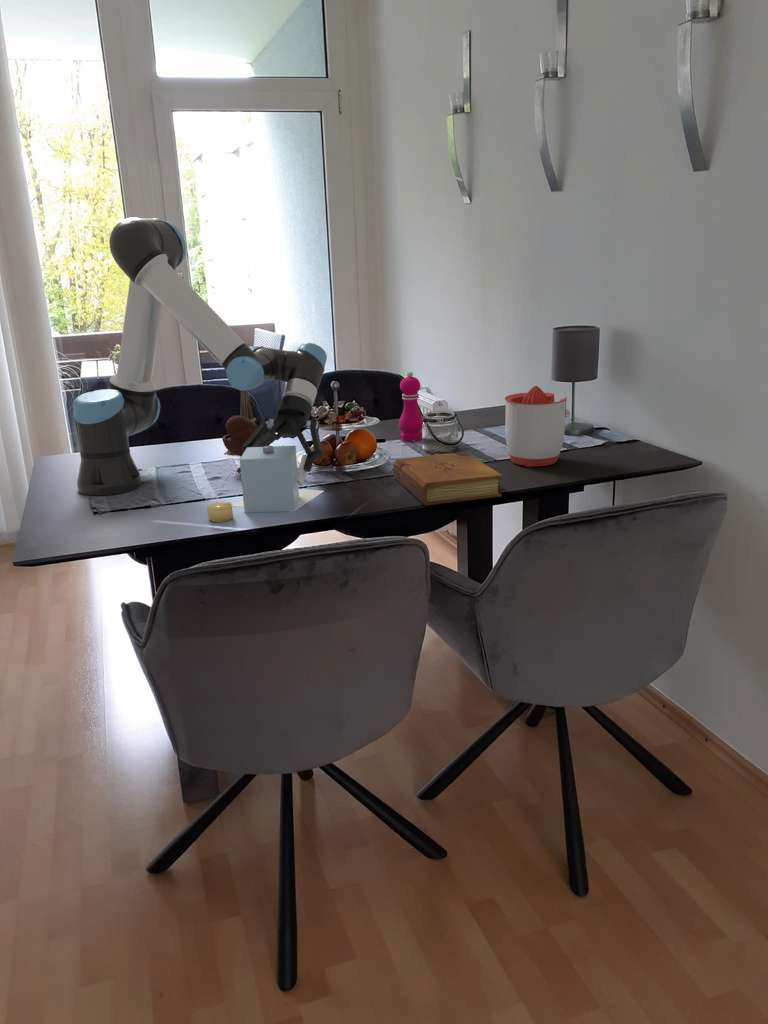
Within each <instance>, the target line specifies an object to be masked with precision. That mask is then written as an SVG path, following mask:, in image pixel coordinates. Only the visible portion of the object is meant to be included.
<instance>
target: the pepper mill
mask: <svg viewBox="0 0 768 1024" xmlns="http://www.w3.org/2000/svg"><path fill="white" fill-rule="evenodd" d="M406 376H407V377H403V379H402V380H401V381H400V384H399V389H400V391H401V392H402V394H401V395H402V397H401V399H402V400H403V410H402V413H401V416H400V418H399V423H398V428H399V429H400V430H401V431H402V432H401V433H400V440H402V441H404V442H405V441H406V442H414V441H413V440H418V441H421V440H422V439H423V433H422V432H421V430H422V429H423V427H422V424H423V425H424V420H423V417H422V415H421V413H420V411H419V407H418V400H419V398H420V394H419V393H418V392H420V390H421V382H420V380H419V379H418V378H417V377H414V373H413V372H412V371H408V372H407V374H406ZM421 438H422V439H421ZM420 439H421V440H420Z"/></svg>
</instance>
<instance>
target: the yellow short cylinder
mask: <svg viewBox="0 0 768 1024" xmlns="http://www.w3.org/2000/svg"><path fill="white" fill-rule="evenodd" d="M232 504H233V503H230V502H225V501H224V502H223V501H220V502H213V503H211V504H208V505H207V506H206V508H207V517H208V520H209V521H212V522H214V523H222V522H227V521H229V520H230V519H232V518H234V512H233V511H234V510H233V506H232Z"/></svg>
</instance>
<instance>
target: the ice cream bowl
mask: <svg viewBox="0 0 768 1024" xmlns="http://www.w3.org/2000/svg"><path fill="white" fill-rule="evenodd" d="M255 423H256V422H255ZM255 423H253V422H252V421H250V420H247V419H246V418H245V417H244V416H240V415H233V416H231V417H230V418H228V420H227V421H226V424H225V429H226V432H227V434H225V435H223V436H222V442H223V446H224V447H225V449H227V450H229V451H230V452H231V453H233V455H235V456H239V457H242V455H243V453H244V451H243V449H242V448H241V447H242V445H243V444H244V443H245V442H246V441H247V439H248V438H249V437H250V436H251V435H252V434H253V432H254V431H255V430H256V429H257V428H258V427H259V425H258V424H257V423H256V424H255ZM236 472H238V473H237V474H241V468H240V467H238V468H236Z"/></svg>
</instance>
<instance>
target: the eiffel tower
mask: <svg viewBox="0 0 768 1024" xmlns="http://www.w3.org/2000/svg"><path fill="white" fill-rule="evenodd" d="M239 408H240V413H239V414H240V415H239V416H244V417H245V418H246V419H247V420H250V421H252V422H253V423H255V424H256V425H257V423H256V422H257V418H256V417H254V413H253V409H252V405H251V399H250V395H249V390H245V391H242V390H240V407H239ZM226 454H227V456H232V454H233V453H231V452H230V451H229V450H228V449H227V450H226V451H225V452H223V455H226ZM233 455H234V454H233ZM240 458H241V456H239V459H240Z"/></svg>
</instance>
